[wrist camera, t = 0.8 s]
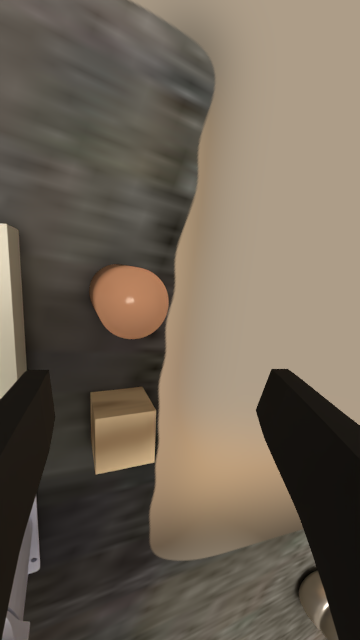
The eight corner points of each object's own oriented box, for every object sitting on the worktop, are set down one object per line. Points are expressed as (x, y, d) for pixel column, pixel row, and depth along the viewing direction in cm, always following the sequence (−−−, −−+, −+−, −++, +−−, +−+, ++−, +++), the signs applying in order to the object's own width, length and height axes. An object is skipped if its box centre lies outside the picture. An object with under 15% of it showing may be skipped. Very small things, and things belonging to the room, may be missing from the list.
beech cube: (141, 431, 30) (154, 462, 26) (91, 439, 29) (95, 474, 24) (142, 386, 29) (156, 410, 25) (90, 392, 28) (95, 419, 23)
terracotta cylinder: (144, 318, 28) (167, 337, 22) (89, 319, 26) (97, 341, 20) (145, 265, 27) (170, 268, 21) (88, 262, 25) (96, 265, 19)
